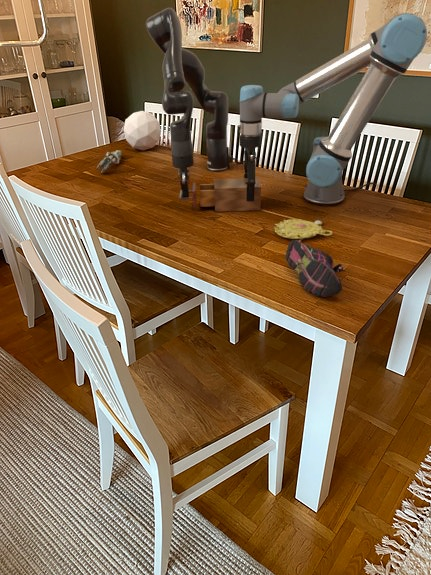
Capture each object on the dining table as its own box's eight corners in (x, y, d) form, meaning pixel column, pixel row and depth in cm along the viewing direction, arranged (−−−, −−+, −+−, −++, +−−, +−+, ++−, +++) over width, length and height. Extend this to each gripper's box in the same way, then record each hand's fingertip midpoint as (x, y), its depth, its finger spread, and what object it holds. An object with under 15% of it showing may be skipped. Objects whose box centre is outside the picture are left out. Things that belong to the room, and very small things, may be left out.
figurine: (101, 154, 197) (119, 141, 223) (91, 167, 200) (110, 152, 227) (114, 165, 199) (130, 151, 225) (103, 178, 203) (121, 162, 229)
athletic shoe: (328, 286, 106) (368, 278, 110) (289, 224, 118) (325, 219, 122) (312, 314, 115) (349, 305, 119) (276, 254, 127) (311, 248, 131)
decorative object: (286, 211, 157) (342, 219, 147) (286, 217, 158) (341, 226, 148) (260, 233, 142) (319, 243, 133) (260, 240, 144) (319, 251, 134)
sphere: (136, 161, 242) (117, 128, 240) (167, 143, 245) (148, 111, 242) (135, 152, 224) (114, 116, 221) (169, 133, 226) (148, 97, 223)
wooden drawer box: (215, 211, 163) (214, 188, 158) (214, 201, 171) (214, 179, 167) (260, 210, 163) (261, 187, 158) (257, 199, 172) (258, 177, 167)
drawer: (179, 209, 163) (178, 191, 159) (180, 200, 170) (179, 183, 167) (234, 207, 163) (234, 189, 159) (233, 198, 170) (233, 181, 167)
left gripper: (172, 147, 161) (176, 193, 171) (170, 158, 150) (175, 206, 160) (193, 146, 161) (196, 192, 171) (192, 157, 150) (196, 205, 160)
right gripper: (237, 127, 163) (236, 185, 175) (242, 143, 144) (241, 207, 156) (257, 126, 163) (255, 184, 175) (265, 142, 144) (262, 206, 156)
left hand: (186, 198), depth 165 cm, fingers closed
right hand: (248, 195), depth 165 cm, fingers closed on wooden drawer box, 10 cm apart
